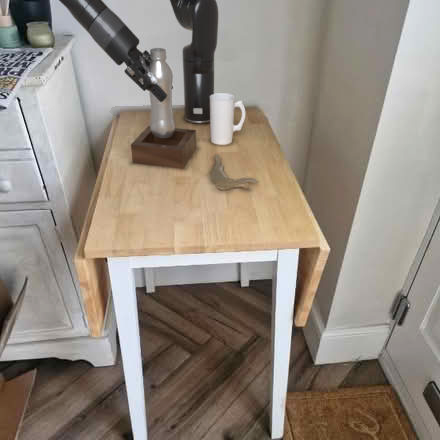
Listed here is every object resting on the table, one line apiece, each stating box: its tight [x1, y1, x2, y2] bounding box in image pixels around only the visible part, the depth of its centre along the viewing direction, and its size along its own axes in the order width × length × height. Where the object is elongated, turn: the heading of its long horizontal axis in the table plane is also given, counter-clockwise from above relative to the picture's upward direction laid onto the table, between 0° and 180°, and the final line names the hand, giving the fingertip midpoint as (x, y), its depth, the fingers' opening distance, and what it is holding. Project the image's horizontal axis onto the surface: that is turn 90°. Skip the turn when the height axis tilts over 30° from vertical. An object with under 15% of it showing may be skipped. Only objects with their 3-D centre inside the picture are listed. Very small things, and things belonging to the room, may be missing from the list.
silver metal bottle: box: [148, 47, 176, 138], centre depth 105 cm, size 6×7×20 cm
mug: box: [209, 92, 246, 146], centre depth 119 cm, size 10×7×12 cm, turn 99°
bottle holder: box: [130, 125, 197, 170], centre depth 113 cm, size 14×14×5 cm
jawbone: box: [210, 153, 260, 191], centre depth 106 cm, size 9×20×2 cm, turn 30°
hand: (167, 94), depth 104 cm, fingers closed on silver metal bottle, 6 cm apart
